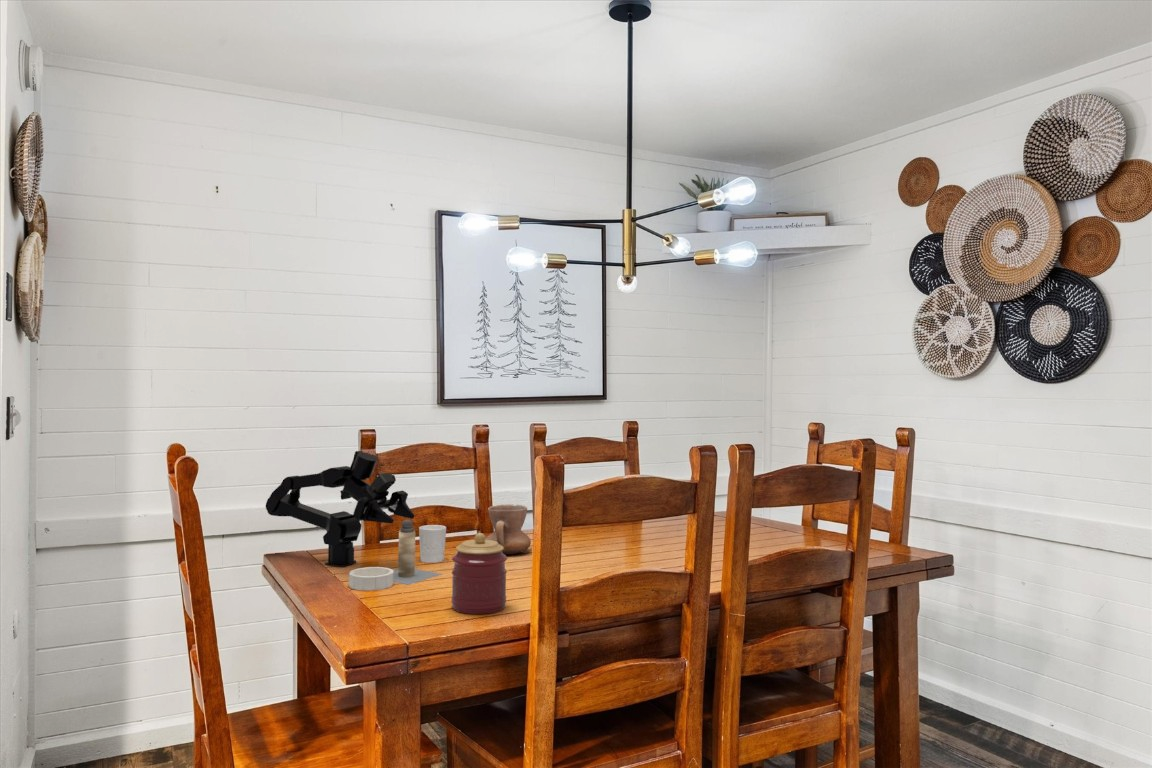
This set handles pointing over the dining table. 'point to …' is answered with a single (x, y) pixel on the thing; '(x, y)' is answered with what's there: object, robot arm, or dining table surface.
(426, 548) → the white cup
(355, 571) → the bowl
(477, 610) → the canister
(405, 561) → the pepper mill
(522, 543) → the ceramic jug
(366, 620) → the dining table surface
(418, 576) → the felt mat
